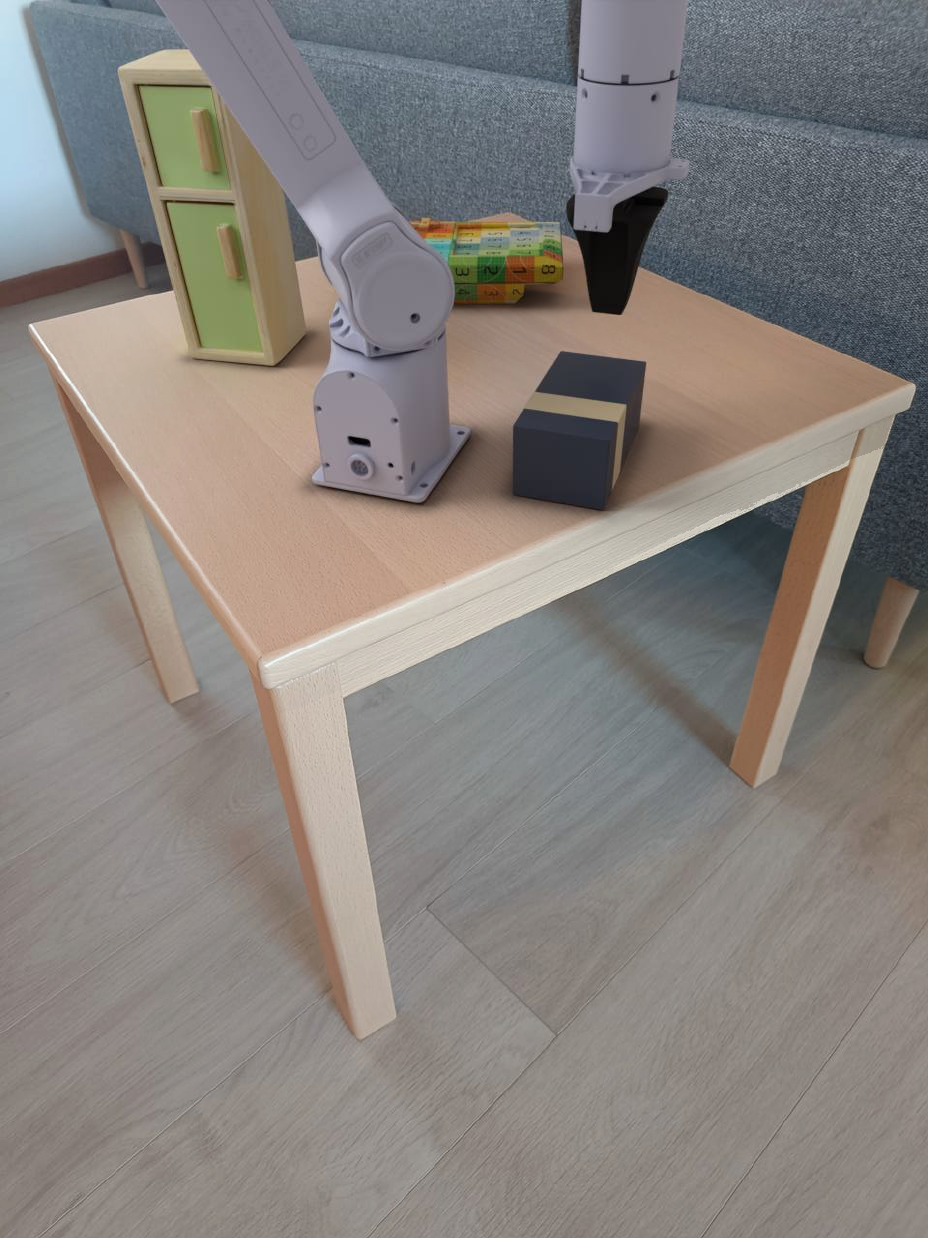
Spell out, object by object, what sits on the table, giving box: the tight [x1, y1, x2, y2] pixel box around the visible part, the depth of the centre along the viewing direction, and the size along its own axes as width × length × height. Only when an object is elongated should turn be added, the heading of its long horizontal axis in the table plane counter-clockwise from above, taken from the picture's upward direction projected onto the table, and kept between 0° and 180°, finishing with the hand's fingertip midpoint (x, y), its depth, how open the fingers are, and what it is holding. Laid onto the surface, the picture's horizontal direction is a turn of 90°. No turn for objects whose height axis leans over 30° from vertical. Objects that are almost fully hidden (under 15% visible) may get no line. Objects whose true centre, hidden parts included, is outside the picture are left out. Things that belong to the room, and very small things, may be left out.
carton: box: [511, 350, 647, 511], centre depth 59 cm, size 5×6×11 cm
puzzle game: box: [409, 217, 564, 305], centre depth 83 cm, size 12×5×20 cm
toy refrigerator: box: [117, 48, 307, 367], centre depth 68 cm, size 8×7×21 cm
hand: (608, 309), depth 60 cm, fingers closed
